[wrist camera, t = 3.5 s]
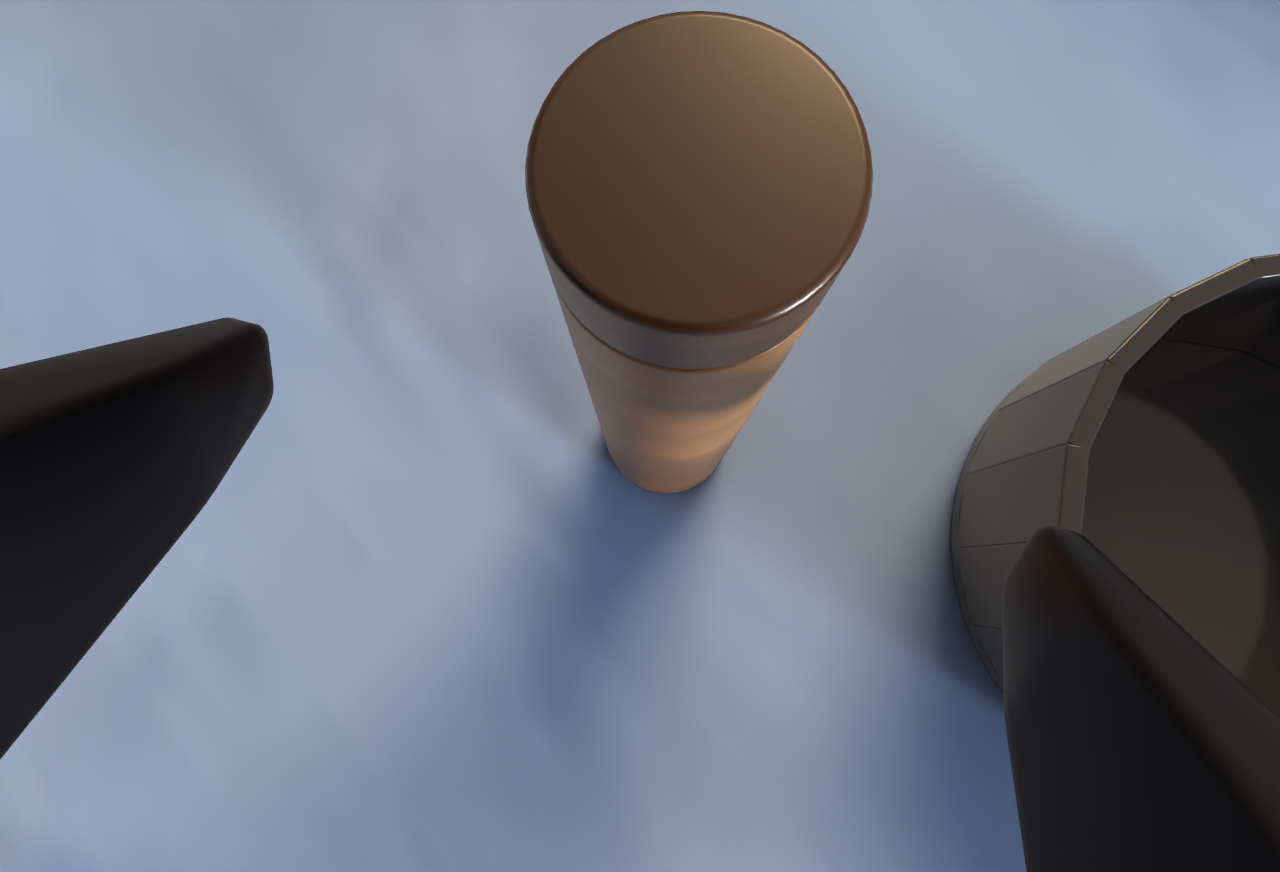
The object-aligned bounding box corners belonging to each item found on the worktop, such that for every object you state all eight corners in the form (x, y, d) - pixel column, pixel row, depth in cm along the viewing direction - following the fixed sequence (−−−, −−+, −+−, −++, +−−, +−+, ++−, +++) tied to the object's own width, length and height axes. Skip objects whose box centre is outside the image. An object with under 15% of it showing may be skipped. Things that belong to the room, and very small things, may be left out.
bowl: (1514, 564, 18) (1840, 561, 13) (1211, 910, 17) (1444, 1048, 12) (1156, 246, 19) (1329, 134, 14) (854, 546, 18) (930, 535, 13)
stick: (751, 436, 19) (949, 168, 6) (664, 518, 18) (694, 408, 6) (668, 351, 19) (703, -58, 7) (581, 431, 19) (450, 157, 6)
